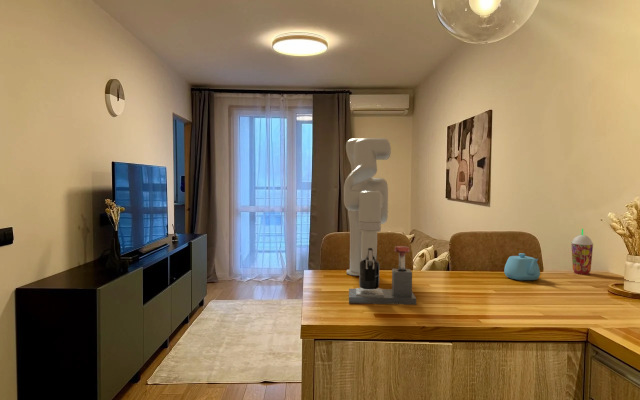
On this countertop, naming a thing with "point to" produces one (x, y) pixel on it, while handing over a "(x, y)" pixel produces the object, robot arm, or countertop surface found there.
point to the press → (387, 291)
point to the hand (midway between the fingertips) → (369, 278)
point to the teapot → (522, 268)
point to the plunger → (402, 256)
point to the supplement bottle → (362, 281)
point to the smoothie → (582, 254)
